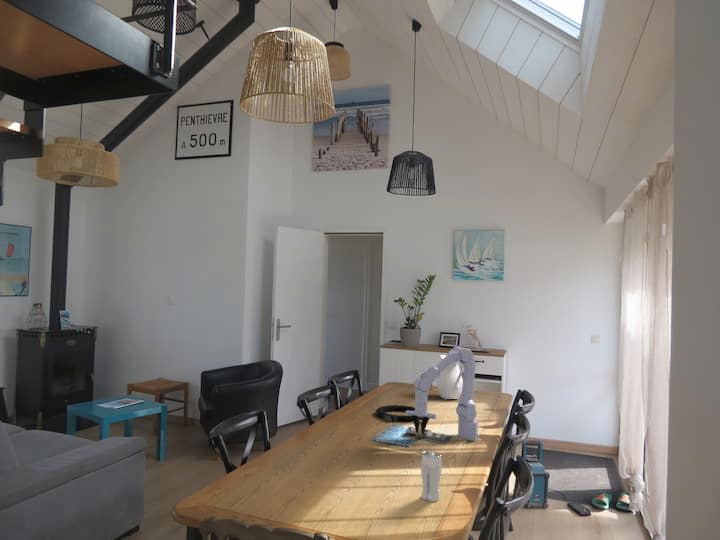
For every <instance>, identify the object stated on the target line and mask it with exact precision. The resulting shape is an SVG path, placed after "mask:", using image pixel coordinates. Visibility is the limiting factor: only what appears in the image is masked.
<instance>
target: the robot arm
mask: <svg viewBox="0 0 720 540" xmlns="http://www.w3.org/2000/svg"><path fill="white" fill-rule="evenodd" d="M446 355H447V356H446V357H445V358H444V359H443V360H442V359H441V360H440V362H439V363H438V364H437V365H436V366H431V367H430V366H429V367H428V368H427V370H426V371H425V372H424V373H423V374H421V375H420V376H419V377H417V378H416V379H415V380H414V382H412V383H413V386H414V389H415V392H414V393H415V395H414V396H415V397H414V400H415V401H414V407H415V411H406V412H405V416H409V415H410V416H412V421H413V422H412V423H413V425H414V428H415V430H416V432H418V421H419V417H423V418H422V420H421V421H422V433H425V429H427V425H428V422H429V421H430V419H432V420H436V419H437V414H436V413H431V412H428V391H429V390H430V388H431V385H432V384H433V383H434V382H435V381H436V380H438V377H439V376H440V372H441V371H442V370H444V369H445V368H446V367H447V366H449V365H450V364H451V363H452V362H460V363H461V364H462V365H463V366H464V372H463V374H462V375H463V376H462V379H463V385H462V393H461V396H460V397H461V398H460V399H458V403H457V406H456V410H455V412H456V415H457V416H458V421H457V422H458V424H457V425H458V426H457V429H458V430H457V435H458V437H460V438H463V439H466V440H467V441H470V442H476V441H477V440H478V439H479V421H478V420H475V419H476V418H477V414H478V413H477V410H476V403H475V402H474V390H475V389H474V388H475V378H476V377H475V376H476V366H477V365H476V361H475V358H474V353H473V352H472V351H471V350H470V348H468V347H467V348H466V347H461V346H459V345H456V346H453V348H452V349H450V350H449V351H448V353H447V354H446ZM460 363H459V364H460Z"/></svg>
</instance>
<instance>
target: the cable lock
mask: <svg viewBox="0 0 720 540" xmlns="http://www.w3.org/2000/svg"><path fill="white" fill-rule="evenodd" d="M406 411H415V406H414V407H413V406H412V405H411V406H409V405H397V404H392V405H383V406H380V407H378V408H377V409H376V411H375V415H376V416H377V417H378V418H380V419H382V420H384V421H385V422H386V423H413V421H412V416H410V415H404V414H403V415H401V414H400V415H398V414H390V413H391V412H404V413H406ZM389 412H390V413H389ZM422 418H423V417H419V421H422Z"/></svg>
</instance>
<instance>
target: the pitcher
mask: <svg viewBox="0 0 720 540" xmlns="http://www.w3.org/2000/svg"><path fill="white" fill-rule="evenodd" d="M447 355H448V354H446V355H442V354H440V356H439V357H440V358H441V361H442V360H443V359H444V358H445V357H446V356H447ZM459 365H460V367H459ZM463 373H464V366H463V365H462V364H461V363H460V362H452V363H451V364H450V365H449V366H447V367H446V368H445V369H444V370H442V371H441V372H440V376H439V377H438V378H437V382H436V383H437V387H436V388H437V392H438V394H439V396H440V398H441V397H442V398H441V399H443V398H444V399H443V400H447V399H457V400H459V398H460V397H461V396H462V385H463V376H462V375H463Z"/></svg>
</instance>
